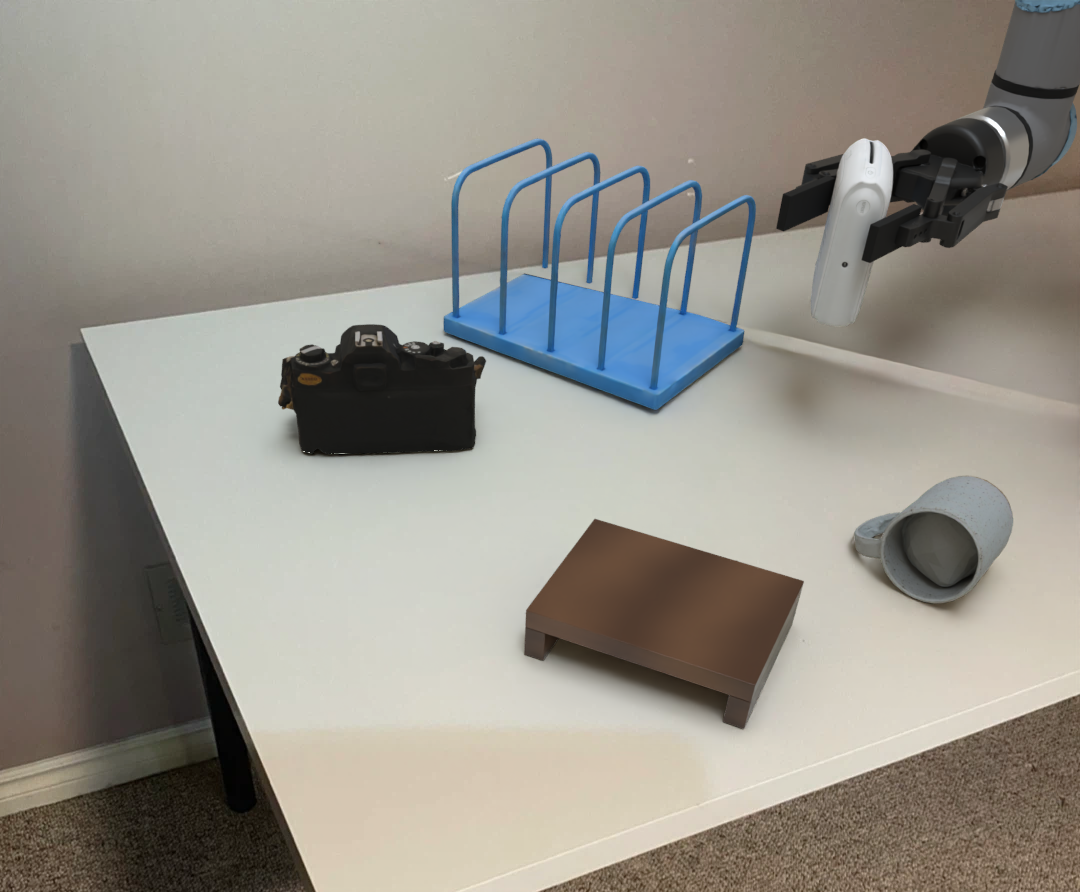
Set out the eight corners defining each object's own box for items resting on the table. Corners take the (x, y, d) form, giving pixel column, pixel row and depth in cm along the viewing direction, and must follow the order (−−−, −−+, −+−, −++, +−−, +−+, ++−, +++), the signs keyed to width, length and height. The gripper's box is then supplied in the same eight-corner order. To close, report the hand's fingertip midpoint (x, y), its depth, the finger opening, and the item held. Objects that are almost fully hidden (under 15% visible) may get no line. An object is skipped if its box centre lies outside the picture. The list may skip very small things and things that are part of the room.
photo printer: (858, 331, 89) (901, 173, 80) (806, 324, 89) (843, 166, 80) (859, 279, 96) (900, 128, 87) (811, 272, 96) (846, 122, 87)
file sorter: (743, 348, 108) (773, 188, 98) (655, 416, 98) (677, 246, 87) (541, 279, 118) (547, 126, 107) (442, 334, 108) (438, 172, 97)
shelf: (792, 624, 78) (804, 580, 75) (743, 729, 70) (755, 685, 67) (590, 561, 82) (594, 518, 80) (523, 654, 75) (525, 609, 72)
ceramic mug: (1001, 568, 84) (1035, 483, 78) (961, 620, 79) (996, 533, 74) (875, 519, 88) (900, 435, 83) (831, 565, 83) (854, 480, 78)
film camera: (447, 379, 101) (445, 274, 94) (500, 444, 94) (502, 335, 87) (261, 414, 95) (244, 304, 88) (302, 486, 88) (286, 373, 81)
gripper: (1056, 241, 94) (925, 318, 82) (858, 176, 104) (715, 237, 92) (1091, 149, 89) (957, 217, 77) (879, 89, 98) (730, 142, 86)
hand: (825, 228), depth 84 cm, fingers closed on photo printer, 7 cm apart
